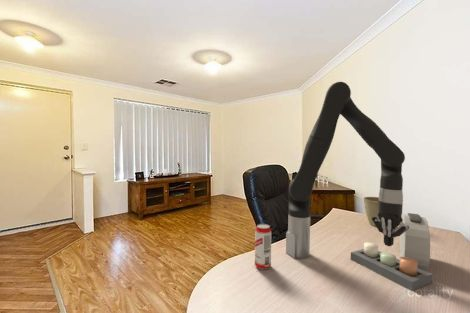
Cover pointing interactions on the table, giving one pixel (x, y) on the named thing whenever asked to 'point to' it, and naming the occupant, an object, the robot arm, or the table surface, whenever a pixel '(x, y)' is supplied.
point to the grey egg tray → (393, 271)
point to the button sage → (388, 259)
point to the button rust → (408, 266)
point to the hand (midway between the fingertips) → (388, 245)
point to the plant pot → (371, 208)
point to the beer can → (263, 246)
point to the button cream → (370, 250)
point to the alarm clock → (416, 240)
